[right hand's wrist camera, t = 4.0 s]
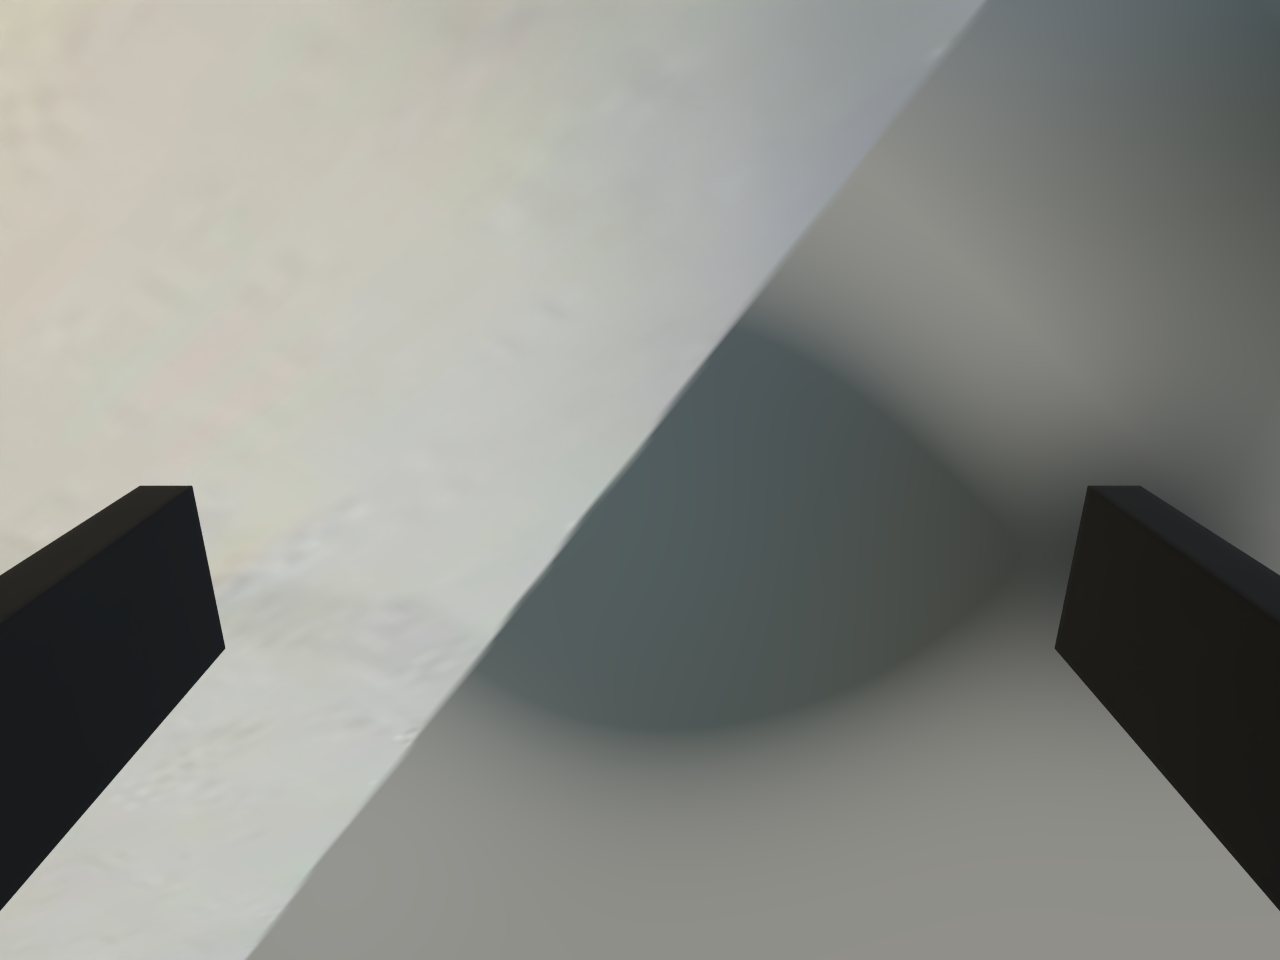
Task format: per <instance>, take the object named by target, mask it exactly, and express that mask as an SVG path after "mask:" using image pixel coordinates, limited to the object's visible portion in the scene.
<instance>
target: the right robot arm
mask: <svg viewBox="0 0 1280 960" xmlns="http://www.w3.org/2000/svg"><path fill="white" fill-rule="evenodd" d="M224 649H225V644H224V639H223V634H222V630H221V625H220V620H219V615H218V610H217V605H216V600H215V595H214V590H213V585H212V580H211V576H210V571H209V566H208V561H207V556H206V551H205V546H204V541H203V536H202V531H201V527H200V522H199V517H198V512H197V507H196V502H195V497H194V492H193V487H192V486H139V487H137V488H136V489H134V490H133V491H131V492H130V493H128V494H126V495H125V496H123V497H122V498H120V499H119V500H117V501H116V502H114V503H112V504H111V505H109V506H108V507H106V508H105V509H103V510H101V511H100V512H98V513H97V514H95V515H94V516H92V517H91V518H89V519H87V520H86V521H84V522H83V523H81V524H80V525H78V526H77V527H75V528H73V529H72V530H70V531H69V532H67V533H66V534H64V535H63V536H61V537H59V538H58V539H56V540H55V541H53V542H52V543H50V544H49V545H47V546H45V547H44V548H42V549H41V550H39V551H38V552H36V553H35V554H33V555H31V556H30V557H28V558H27V559H25V560H24V561H22V562H21V563H19V564H17V565H16V566H14V567H13V568H11V569H10V570H8V571H6V572H5V573H3V574H2V575H0V911H1V909H2V908H3V907H4V906H5V905H6V904H7V902H8V901H9V900H10V899H11V898H12V897H13V895H14V894H15V893H16V892H17V891H18V890H19V888H20V887H21V886H22V885H23V884H24V883H25V881H26V880H27V879H28V878H29V877H30V876H31V874H32V873H33V872H34V871H35V870H36V869H37V867H38V866H39V865H40V864H41V863H42V862H43V860H44V859H45V858H46V857H47V856H48V855H49V853H50V852H51V851H52V850H53V849H54V848H55V846H56V845H57V844H58V843H59V842H60V841H61V839H62V838H63V837H64V836H65V835H66V834H67V832H68V831H69V830H70V829H71V828H72V827H73V825H74V824H75V823H76V822H77V821H78V820H79V818H80V817H81V816H82V815H83V814H84V813H85V811H86V810H87V809H88V808H89V807H90V806H91V804H92V803H93V802H94V801H95V800H96V799H97V797H98V796H99V795H100V794H101V793H102V792H103V790H104V789H105V788H106V787H107V786H108V785H109V783H110V782H111V781H112V780H113V779H114V778H115V776H116V775H117V774H118V773H119V772H120V771H121V769H122V768H123V767H124V766H125V765H126V764H127V762H128V761H129V760H130V759H131V758H132V757H133V755H134V754H135V753H136V752H137V751H138V750H139V748H140V747H141V746H142V745H143V744H144V743H145V741H146V740H147V739H148V738H149V737H150V736H151V734H152V733H153V732H154V731H155V730H156V729H157V727H158V726H159V725H160V724H161V723H162V722H163V720H164V719H165V718H166V717H167V716H168V715H169V713H170V712H171V711H172V710H173V709H174V708H175V706H176V705H177V704H178V703H179V702H180V701H181V699H182V698H183V697H184V696H185V695H186V694H187V692H188V691H189V690H190V689H191V688H192V687H193V685H194V684H195V683H196V682H197V681H198V680H199V678H200V677H201V676H202V675H203V674H204V673H205V671H206V670H207V669H208V668H209V667H210V666H211V664H212V663H213V662H214V661H215V660H216V659H217V657H218V656H219V655H220V654H221V653H222V652H223V650H224ZM1055 649H1056V650H1057V652H1058V653H1059V654H1060V655H1061V656H1062V657H1063V659H1064V660H1065V661H1066V662H1067V663H1068V664H1069V666H1070V667H1071V668H1072V669H1073V670H1074V671H1075V673H1076V674H1077V675H1078V676H1079V677H1080V678H1081V680H1082V681H1083V682H1084V683H1085V684H1086V685H1087V687H1088V688H1089V689H1090V690H1091V691H1092V692H1093V694H1094V695H1095V696H1096V697H1097V698H1098V699H1099V701H1100V702H1101V703H1102V704H1103V705H1104V706H1105V708H1106V709H1107V710H1108V711H1109V712H1110V713H1111V715H1112V716H1113V717H1114V718H1115V719H1116V720H1117V722H1118V723H1119V724H1120V725H1121V726H1122V727H1123V729H1124V730H1125V731H1126V732H1127V733H1128V734H1129V736H1130V737H1131V738H1132V739H1133V740H1134V741H1135V743H1136V744H1137V745H1138V746H1139V747H1140V748H1141V750H1142V751H1143V752H1144V753H1145V754H1146V755H1147V757H1148V758H1149V759H1150V760H1151V761H1152V762H1153V764H1154V765H1155V766H1156V767H1157V768H1158V769H1159V771H1160V772H1161V773H1162V774H1163V775H1164V776H1165V778H1166V779H1167V780H1168V781H1169V782H1170V783H1171V785H1172V786H1173V787H1174V788H1175V789H1176V790H1177V791H1178V793H1179V794H1180V795H1181V796H1182V797H1183V799H1184V800H1185V801H1186V802H1187V803H1188V804H1189V806H1190V807H1191V808H1192V809H1193V810H1194V811H1195V813H1196V814H1197V815H1198V816H1199V817H1200V818H1201V820H1202V821H1203V822H1204V823H1205V824H1206V825H1207V827H1208V828H1209V829H1210V830H1211V831H1212V832H1213V834H1214V835H1215V836H1216V837H1217V838H1218V839H1219V841H1220V842H1221V843H1222V844H1223V845H1224V846H1225V848H1226V849H1227V850H1228V851H1229V852H1230V853H1231V854H1232V856H1233V857H1234V858H1235V859H1236V860H1237V861H1238V863H1239V864H1240V865H1241V866H1242V867H1243V869H1244V870H1245V871H1246V872H1247V873H1248V874H1249V876H1250V877H1251V878H1252V879H1253V880H1254V881H1255V883H1256V884H1257V885H1258V886H1259V887H1260V888H1261V889H1262V891H1263V892H1264V893H1265V894H1266V895H1267V896H1268V898H1269V899H1270V900H1271V901H1272V902H1273V903H1274V905H1275V906H1276V907H1277V908H1278V909H1279V911H1280V575H1278V574H1277V573H1275V572H1274V571H1272V570H1270V569H1269V568H1267V567H1266V566H1264V565H1263V564H1261V563H1259V562H1258V561H1256V560H1255V559H1253V558H1252V557H1250V556H1249V555H1247V554H1245V553H1244V552H1242V551H1241V550H1239V549H1238V548H1236V547H1235V546H1233V545H1231V544H1230V543H1228V542H1227V541H1225V540H1224V539H1222V538H1221V537H1219V536H1217V535H1216V534H1214V533H1213V532H1211V531H1210V530H1208V529H1207V528H1205V527H1203V526H1202V525H1200V524H1199V523H1197V522H1196V521H1194V520H1192V519H1191V518H1189V517H1188V516H1186V515H1185V514H1183V513H1182V512H1180V511H1179V510H1177V509H1175V508H1174V507H1172V506H1171V505H1169V504H1168V503H1166V502H1164V501H1163V500H1161V499H1160V498H1158V497H1157V496H1155V495H1154V494H1152V493H1150V492H1149V491H1147V490H1146V489H1144V488H1143V487H1141V486H1088V487H1087V492H1086V497H1085V502H1084V507H1083V512H1082V517H1081V522H1080V527H1079V531H1078V536H1077V541H1076V546H1075V551H1074V556H1073V561H1072V566H1071V571H1070V576H1069V581H1068V586H1067V590H1066V595H1065V600H1064V605H1063V610H1062V615H1061V620H1060V625H1059V630H1058V634H1057V639H1056V644H1055Z"/></svg>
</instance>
